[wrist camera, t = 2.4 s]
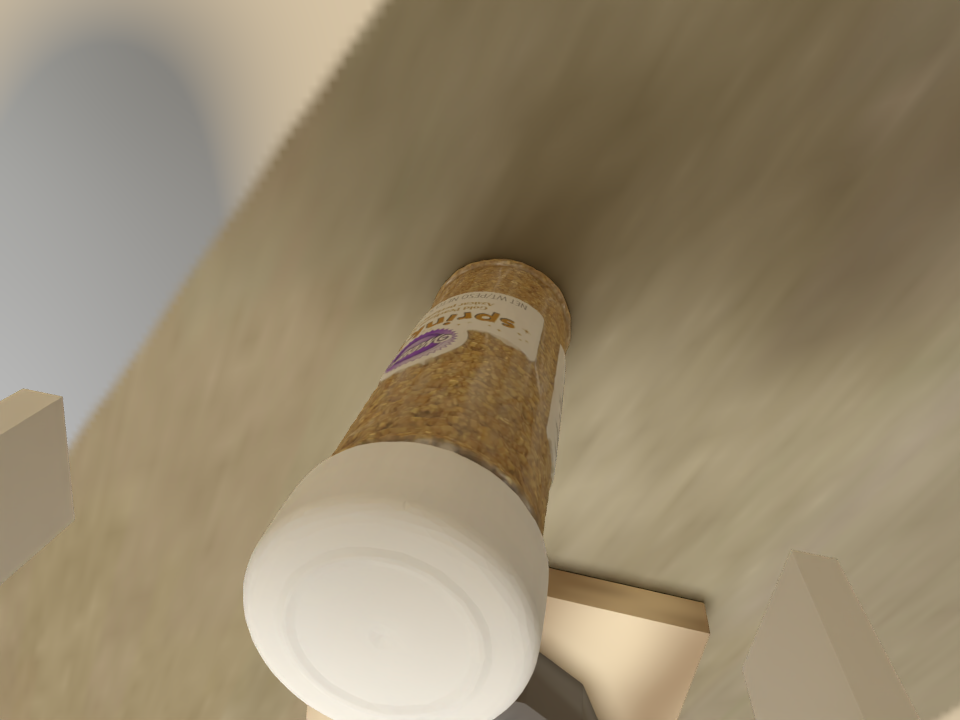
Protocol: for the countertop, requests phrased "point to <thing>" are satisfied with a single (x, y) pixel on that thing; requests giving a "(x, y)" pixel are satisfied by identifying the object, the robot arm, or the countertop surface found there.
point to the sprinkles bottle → (427, 519)
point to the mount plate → (609, 653)
